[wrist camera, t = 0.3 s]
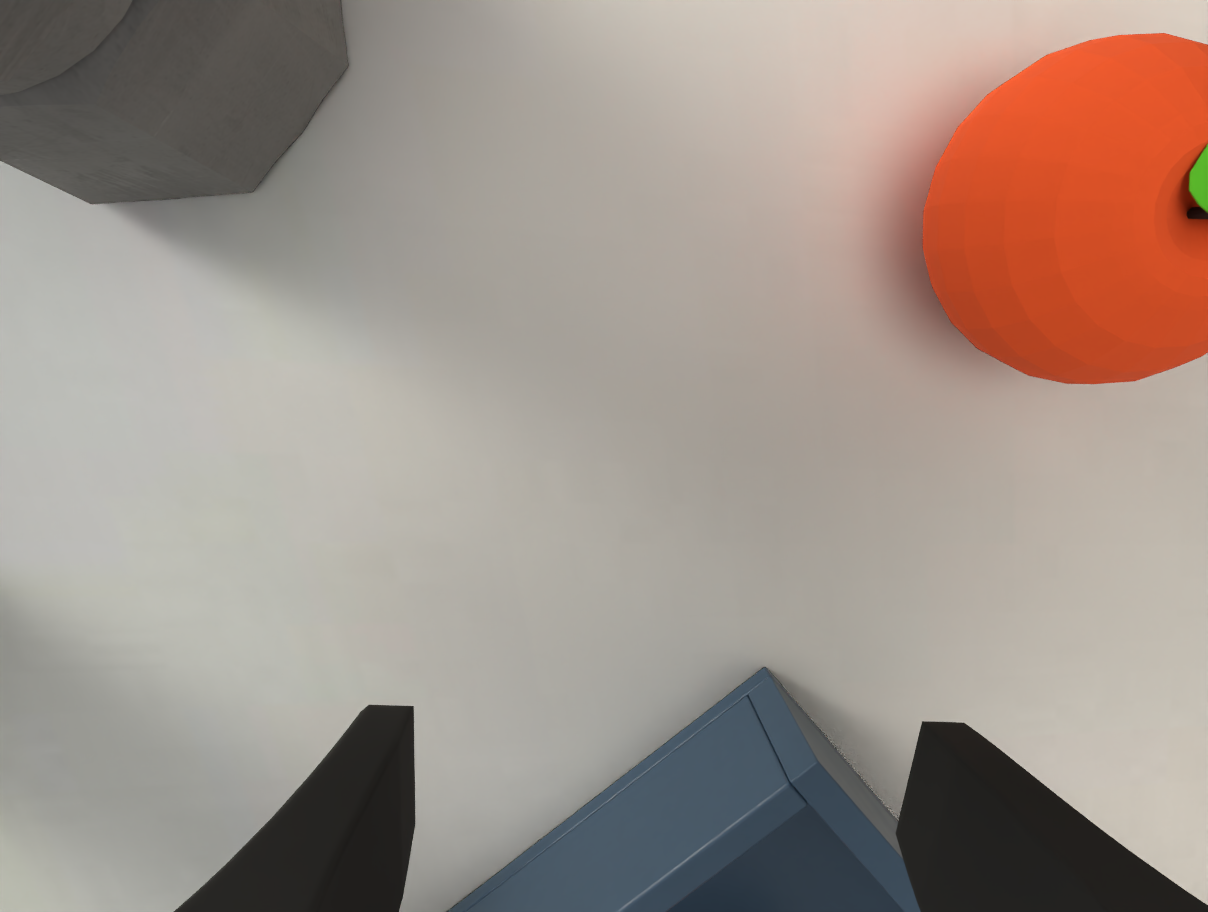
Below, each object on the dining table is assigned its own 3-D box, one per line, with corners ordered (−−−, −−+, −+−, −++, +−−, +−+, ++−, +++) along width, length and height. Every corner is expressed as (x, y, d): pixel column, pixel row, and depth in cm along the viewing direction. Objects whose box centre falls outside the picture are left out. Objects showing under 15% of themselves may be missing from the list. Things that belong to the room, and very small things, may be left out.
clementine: (960, -18, 20) (1185, -167, 13) (1211, 92, 21) (1547, 8, 14) (830, 313, 21) (969, 337, 14) (1070, 400, 22) (1309, 463, 15)
